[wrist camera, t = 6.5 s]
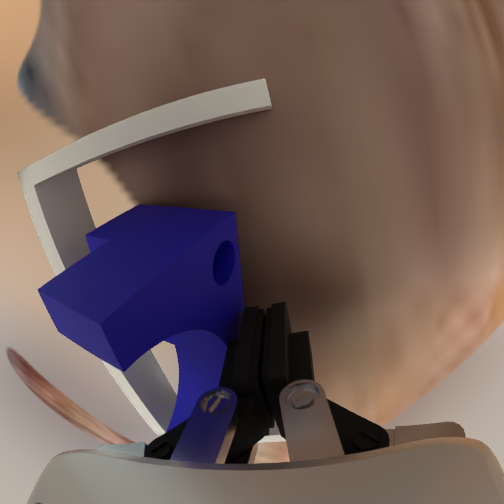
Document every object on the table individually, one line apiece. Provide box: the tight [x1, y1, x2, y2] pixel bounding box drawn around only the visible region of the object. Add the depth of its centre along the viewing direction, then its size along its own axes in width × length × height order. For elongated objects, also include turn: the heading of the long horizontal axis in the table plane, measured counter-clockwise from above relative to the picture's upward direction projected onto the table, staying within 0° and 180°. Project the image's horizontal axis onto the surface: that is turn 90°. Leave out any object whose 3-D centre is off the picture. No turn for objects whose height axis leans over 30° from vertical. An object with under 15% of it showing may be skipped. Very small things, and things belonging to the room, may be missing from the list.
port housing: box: [18, 78, 286, 443], centre depth 13 cm, size 17×10×3 cm, turn 12°
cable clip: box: [38, 204, 245, 432], centre depth 11 cm, size 12×4×6 cm, turn 3°
